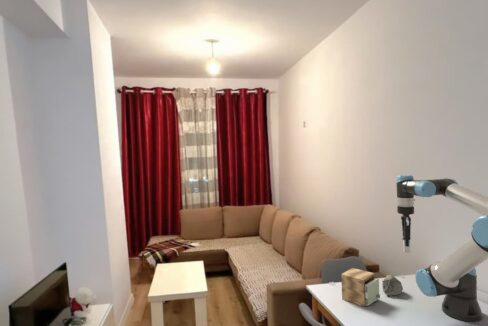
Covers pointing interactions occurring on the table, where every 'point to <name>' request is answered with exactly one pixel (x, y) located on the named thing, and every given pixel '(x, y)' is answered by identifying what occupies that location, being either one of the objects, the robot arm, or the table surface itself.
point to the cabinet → (355, 285)
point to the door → (372, 291)
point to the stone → (392, 286)
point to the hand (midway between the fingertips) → (406, 252)
